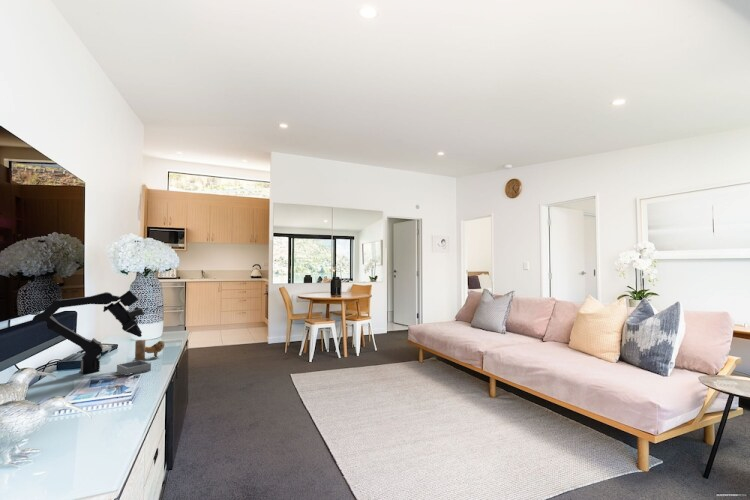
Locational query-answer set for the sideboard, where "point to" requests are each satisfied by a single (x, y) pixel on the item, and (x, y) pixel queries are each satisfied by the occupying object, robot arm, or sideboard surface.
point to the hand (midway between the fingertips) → (141, 334)
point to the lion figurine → (155, 348)
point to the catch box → (133, 367)
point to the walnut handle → (140, 350)
